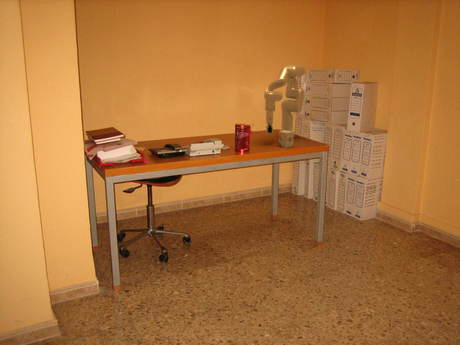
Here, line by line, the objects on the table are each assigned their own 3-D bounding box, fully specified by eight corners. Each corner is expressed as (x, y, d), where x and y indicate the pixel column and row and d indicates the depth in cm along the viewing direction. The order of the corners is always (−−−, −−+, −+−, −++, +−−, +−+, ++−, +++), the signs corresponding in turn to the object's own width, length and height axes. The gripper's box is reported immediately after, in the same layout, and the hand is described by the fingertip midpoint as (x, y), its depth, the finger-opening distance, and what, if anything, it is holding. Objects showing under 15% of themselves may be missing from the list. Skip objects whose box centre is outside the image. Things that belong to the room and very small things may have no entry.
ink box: (277, 146, 337) (278, 130, 334) (285, 144, 342) (286, 129, 339) (286, 147, 331) (286, 132, 327) (293, 146, 336) (294, 131, 333)
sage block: (266, 131, 343) (266, 125, 342) (272, 131, 343) (272, 125, 342) (266, 133, 338) (266, 126, 337) (272, 133, 338) (273, 126, 337)
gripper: (264, 106, 343) (264, 129, 349) (265, 110, 327) (265, 134, 332) (274, 106, 343) (273, 129, 349) (275, 110, 327) (275, 134, 332)
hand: (269, 131), depth 340 cm, fingers closed on sage block, 5 cm apart
